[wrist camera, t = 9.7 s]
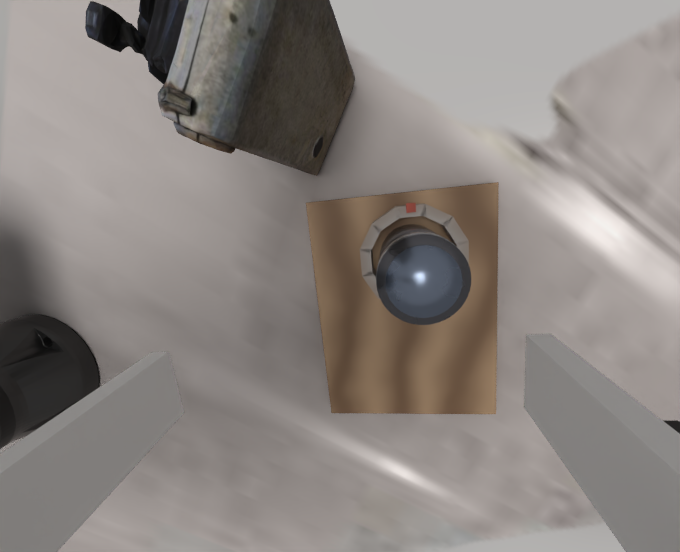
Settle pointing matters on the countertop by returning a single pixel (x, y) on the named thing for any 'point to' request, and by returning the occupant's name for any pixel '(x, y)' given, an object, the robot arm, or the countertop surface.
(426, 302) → the lens
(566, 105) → the countertop surface
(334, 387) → the mount board
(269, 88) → the vintage camera
